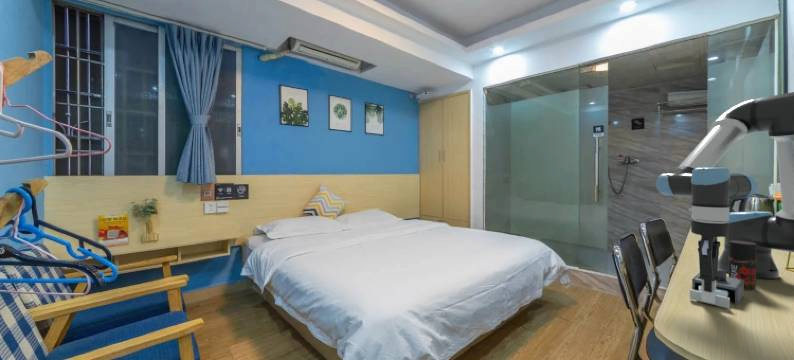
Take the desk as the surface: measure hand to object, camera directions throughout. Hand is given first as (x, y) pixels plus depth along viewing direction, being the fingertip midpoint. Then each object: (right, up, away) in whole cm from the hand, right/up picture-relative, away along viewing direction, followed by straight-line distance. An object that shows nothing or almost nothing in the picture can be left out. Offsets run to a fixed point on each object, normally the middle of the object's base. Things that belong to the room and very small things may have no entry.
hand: (708, 301), depth 86 cm
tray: (+6, -1, +4) cm, 7 cm away
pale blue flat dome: (+5, 0, +4) cm, 6 cm away
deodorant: (+25, -1, +13) cm, 28 cm away
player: (+11, -1, +8) cm, 13 cm away
